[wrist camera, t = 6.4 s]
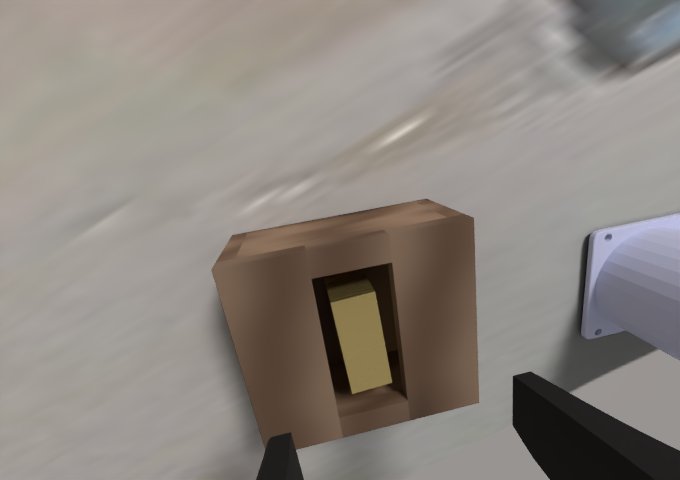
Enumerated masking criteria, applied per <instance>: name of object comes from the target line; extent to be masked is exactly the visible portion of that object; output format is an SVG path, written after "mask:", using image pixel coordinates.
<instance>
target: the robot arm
mask: <svg viewBox="0 0 680 480" xmlns="http://www.w3.org/2000/svg"><path fill="white" fill-rule="evenodd" d="M605 236H606V237H605ZM623 331H627V332H629V333H631V334H633V335H635V336H636V337H638V338H640V339H642V340H644V341H645V342H647V343H649V344H651V345H653V346H654V347H656V348H658V349H660V350H662V351H664V352H665V353H667V354H669V355H671V356H673V357H674V358H676V359H678V360H680V213H677V214H672V215H668V216H663V217H658V218H653V219H648V220H644V221H639V222H634V223H629V224H624V225H620V226H615V227H610V228H605V229H601V230H596V231H594V232H593V233H592V234H591V235H590V238H589V248H588V259H587V271H586V282H585V294H584V305H583V317H582V328H581V335H582V336H583V337H584V338H586V339H588V340H589V339H594V338H598V337H602V336H607V335H611V334H615V333H619V332H623ZM513 426H514V428H515V430H516V431H517V433H518V434H519V436H520V438H521V439H522V441H523V443H524V444H525V446H526V447H527V449H528V450H529V452H530V453H531V455H532V456H533V458H534V459H535V461H536V462H537V463H538V465H539V466H540V467H541V468H542V470H543V471H544V472H545V473H546V475H547V476H548V478H549V479H550V480H680V451H679V450H677V449H675V448H673V447H670V446H668V445H666V444H664V443H662V442H660V441H658V440H656V439H654V438H652V437H650V436H648V435H646V434H644V433H642V432H640V431H638V430H636V429H634V428H633V427H631V426H629V425H627V424H625V423H623V422H621V421H619V420H617V419H615V418H614V417H612V416H610V415H608V414H606V413H604V412H602V411H601V410H599V409H597V408H595V407H593V406H591V405H590V404H588V403H586V402H584V401H582V400H580V399H579V398H577V397H575V396H573V395H572V394H570V393H568V392H566V391H565V390H563V389H561V388H559V387H558V386H556V385H554V384H552V383H551V382H549V381H547V380H545V379H543V378H542V377H540V376H538V375H536V374H534V373H532V372H527V373H523V374H519V375H515V376H513ZM256 480H304V479H303V475H302V471H301V467H300V464H299V460H298V456H297V453H296V449H295V445H294V441H293V438H292V434H291V432H289V433H285V434H281V435H277V436H274V437H271V438H270V439H269V440H268V443H267V446H266V450H265V454H264V457H263V460H262V463H261V467H260V470H259V473H258V476H257V479H256Z"/></svg>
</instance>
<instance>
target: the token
mask: <svg viewBox="0 0 680 480" xmlns="http://www.w3.org/2000/svg"><path fill="white" fill-rule="evenodd" d="M323 277H324V281H325V285H326V290H327V294H328V298H329V302H330V306H331V310H332V315H333V319H334V323H335V327H336V331H337V335H338V340H339V343H340V347H341V351H342V355H343V359H344V363H345V367H346V371H347V375H348V379H349V383H350V387H351V391H352V394H354V393H358V392H361V391H365V390H368V389H372V388H375V387H379V386H382V385H386V384H389V383H392V378H391V373H390V368H389V362H388V357H387V352H386V346H385V341H384V336H383V330H382V325H381V320H380V315H379V309H378V304H377V299H376V293H375V290H374V289H373V287H372V285H371V283H370V282H369V280H368V278H367V277H366V275H365V273H364V271H363V270H362V269H357V270H353V271H348V272H343V273H338V274H333V275H328V276H323Z"/></svg>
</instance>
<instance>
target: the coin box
mask: <svg viewBox="0 0 680 480" xmlns="http://www.w3.org/2000/svg"><path fill="white" fill-rule="evenodd" d="M357 269H362V270H363V271H364V273H365V275H366V277H367V278H368V280H369V282H370V283H371V285H372V287H373V289H374V290H375V293H376V299H377V304H378V309H379V315H380V320H381V325H382V330H383V336H384V341H385V346H386V352H387V357H388V362H389V368H390V373H391V378H392V383H389V384H386V385H382V386H379V387H375V388H372V389H368V390H365V391H361V392H358V393H354V394H352V391H351V387H350V383H349V379H348V375H347V371H346V367H345V363H344V359H343V355H342V351H341V347H340V343H339V340H338V335H337V331H336V327H335V323H334V319H333V315H332V310H331V306H330V302H329V298H328V294H327V290H326V285H325V281H324V277H323V276H328V275H333V274H338V273H343V272H348V271H353V270H357ZM211 270H212V273H213V277H214V280H215V283H216V287H217V290H218V293H219V297H220V300H221V303H222V307H223V310H224V313H225V317H226V320H227V323H228V326H229V330H230V333H231V336H232V340H233V343H234V346H235V350H236V353H237V356H238V360H239V363H240V366H241V370H242V373H243V376H244V380H245V383H246V386H247V390H248V393H249V396H250V400H251V403H252V406H253V409H254V413H255V416H256V419H257V423H258V426H259V429H260V433H261V436H262V439H263V443H264V446H265V449H266V446H267V443H268V440H269V439H270V438H271V437H274V436H277V435H281V434H285V433H289V432H291V434H292V438H293V441H294V445H295V449H296V450H297V449H301V448H304V447H308V446H312V445H316V444H320V443H324V442H328V441H332V440H336V439H340V438H343V437H347V436H351V435H355V434H359V433H363V432H367V431H371V430H375V429H378V428H382V427H386V426H390V425H394V424H398V423H402V422H406V421H410V420H414V419H417V418H421V417H425V416H429V415H433V414H437V413H441V412H445V411H449V410H453V409H456V408H460V407H464V406H468V405H472V404H476V403H479V385H478V349H477V313H476V277H475V241H474V218H473V217H470V216H468V215H465V214H463V213H460V212H458V211H455V210H453V209H450V208H448V207H445V206H443V205H440V204H438V203H435V202H433V201H430V200H428V199H423V200H418V201H413V202H407V203H402V204H397V205H391V206H386V207H381V208H375V209H370V210H365V211H359V212H354V213H349V214H343V215H338V216H333V217H327V218H322V219H317V220H311V221H306V222H301V223H295V224H290V225H285V226H279V227H274V228H269V229H263V230H258V231H253V232H247V233H242V234H237V235H232V237H231V238H230V240H229V242H228V243H227V245H226V247H225V248H224V250H223V251H222V253H221V255H220V256H219V258H218V260H217V261H216V263H215V264H214V266H213V268H212V269H211Z"/></svg>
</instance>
